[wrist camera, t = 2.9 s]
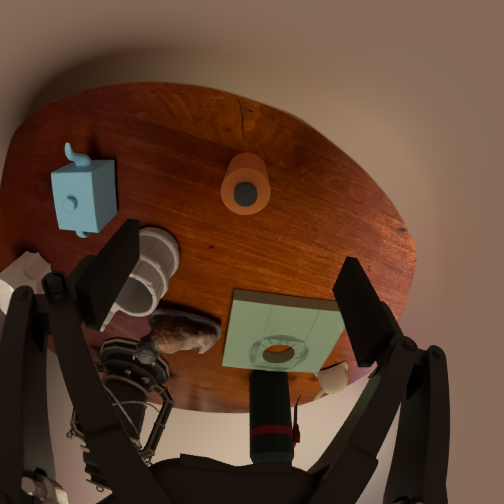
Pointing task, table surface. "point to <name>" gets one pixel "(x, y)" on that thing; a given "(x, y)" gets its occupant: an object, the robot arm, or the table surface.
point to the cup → (22, 276)
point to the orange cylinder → (246, 184)
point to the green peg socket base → (280, 331)
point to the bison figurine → (176, 334)
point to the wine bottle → (271, 417)
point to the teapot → (84, 193)
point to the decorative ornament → (332, 379)
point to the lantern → (128, 399)
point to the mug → (148, 274)
